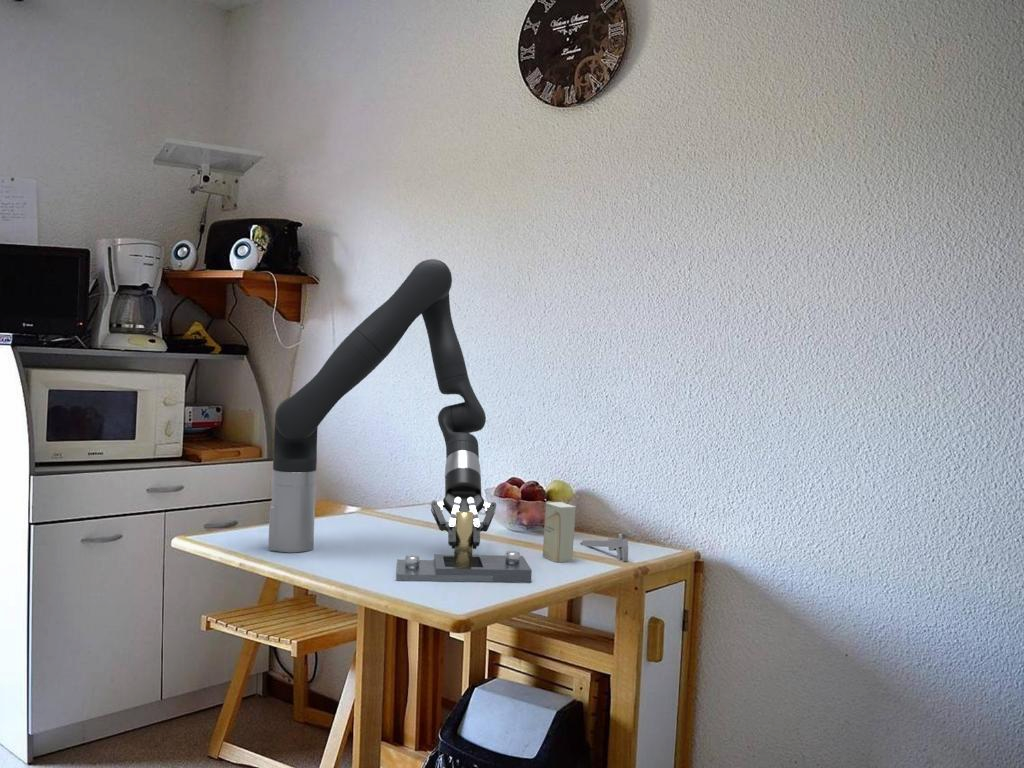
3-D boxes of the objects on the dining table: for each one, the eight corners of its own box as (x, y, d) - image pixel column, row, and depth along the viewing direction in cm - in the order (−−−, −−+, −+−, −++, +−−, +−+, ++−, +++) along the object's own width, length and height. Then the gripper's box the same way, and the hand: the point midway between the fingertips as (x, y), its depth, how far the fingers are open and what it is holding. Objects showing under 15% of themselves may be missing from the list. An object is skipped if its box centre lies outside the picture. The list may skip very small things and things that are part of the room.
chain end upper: (435, 581, 171) (436, 558, 171) (433, 565, 184) (434, 544, 183) (531, 582, 173) (532, 559, 173) (522, 567, 186) (523, 546, 186)
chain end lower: (396, 580, 170) (397, 563, 170) (397, 565, 183) (397, 549, 183) (492, 581, 172) (493, 565, 172) (486, 566, 185) (487, 551, 185)
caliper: (628, 563, 196) (629, 534, 196) (623, 563, 195) (624, 535, 195) (583, 544, 214) (584, 518, 214) (579, 544, 214) (580, 518, 214)
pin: (454, 568, 176) (456, 513, 176) (453, 564, 179) (455, 510, 179) (472, 568, 176) (474, 513, 176) (471, 564, 180) (473, 510, 180)
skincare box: (541, 556, 197) (544, 502, 197) (559, 555, 199) (561, 501, 199) (556, 563, 191) (559, 506, 191) (574, 561, 194) (576, 506, 193)
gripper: (430, 465, 184) (429, 535, 172) (498, 467, 186) (502, 536, 174) (428, 487, 189) (427, 556, 177) (494, 488, 191) (498, 557, 179)
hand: (464, 546), depth 176 cm, fingers closed on pin, 3 cm apart
